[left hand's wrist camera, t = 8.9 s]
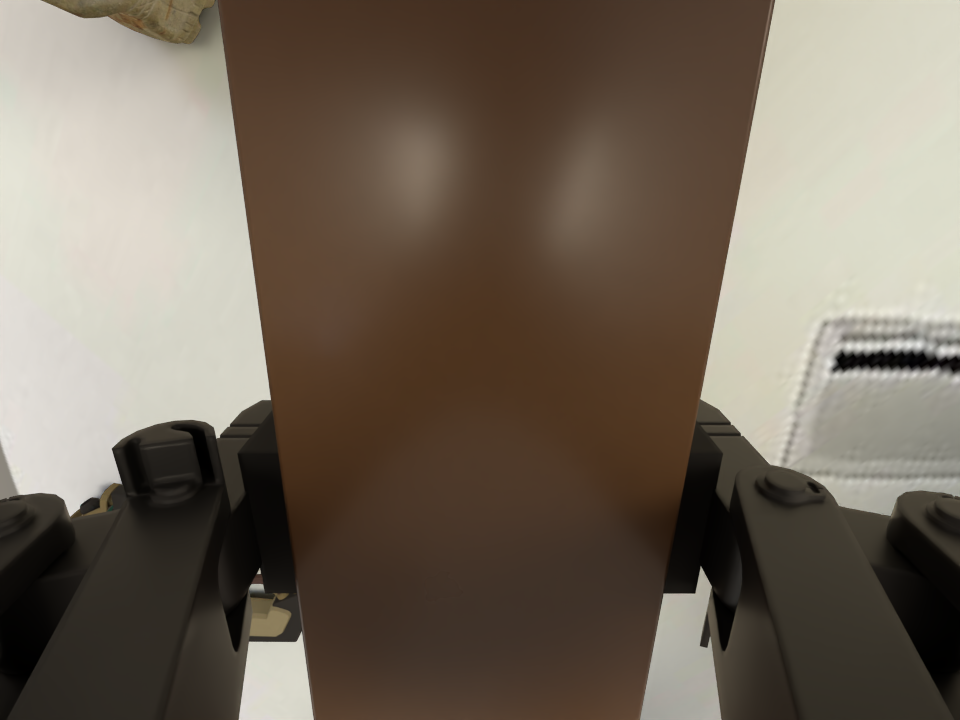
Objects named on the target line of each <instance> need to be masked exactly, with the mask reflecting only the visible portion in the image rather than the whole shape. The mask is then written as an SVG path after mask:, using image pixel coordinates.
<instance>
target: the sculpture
mask: <svg viewBox="0 0 960 720" xmlns="http://www.w3.org/2000/svg"><path fill="white" fill-rule="evenodd" d="M42 1H44V2H47V3H49V4H51V5H54V6H56V7H58V8H60V9H63V10H65V11H67V12H69V13H72V14H74V15H76V16H79V17H82V18H99V17H105V16H108V17H110V18H112V19H113V20H115V21H117V22H118V23H120V24H122V25H124V26H126V27H128V28H130V29H132V30H134V31H136V32H139V33H142V34H145V35H147V36H150V37H153V38H156V39H159V40H163V41H167V42H170V43H177V44H178V43H186V44H191V43H192V42H193V41H194V40H195V38H196V36H197V35H198V33H199V32H200V29H201V24H200V23H199V16H200V13H201V11H202V10H203V9H205V8H210V7H212V6H213V5H214V2H215V0H42Z"/></svg>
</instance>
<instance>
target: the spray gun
mask: <svg viewBox="0 0 960 720" xmlns="http://www.w3.org/2000/svg"><path fill="white" fill-rule="evenodd" d="M126 498H127V497H126V494H125V491H124V487H123V485H122V484H116V483H113V484H112V485H110V486H109V487H108V488H107V489H106V490H105V491H104V493H103V494H102V496H101V499H99V498H90V499H88V500H87V501H85V502H84V503H83V504H82V505H81V506H80V509H79V510H78V511H76V512H75V513H74V514H73V515H72V516H71V517H70V519H71V518H76V517H81V516H86V515H92V514H97V513H102V512H108V511H113V510H118V509H121V507H122V505H123V503H124V501H125V500H126ZM251 584H263V580H262V575H261V574H256V576H255V578H254V580H253V582H252V583H251ZM273 594H276V595H275V597H274V599H264V598H251V604H252V610H253V613H252V621H251V628H250V636H249V642H296V641H297V640H298V638H299V635H300V633H301V631H302V626H301V619H300V612H299V604H298V597H297V593H273Z"/></svg>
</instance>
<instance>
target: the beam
mask: <svg viewBox="0 0 960 720" xmlns="http://www.w3.org/2000/svg"><path fill="white" fill-rule="evenodd" d="M774 3H775V0H218V7H219V14H220V22H221V29H222V37H223V44H224V52H225V59H226V67H227V74H228V81H229V89H230V96H231V104H232V111H233V119H234V126H235V134H236V141H237V149H238V156H239V164H240V171H241V179H242V186H243V193H244V201H245V208H246V216H247V223H248V231H249V238H250V246H251V253H252V261H253V268H254V276H255V283H256V290H257V298H258V305H259V313H260V320H261V328H262V335H263V343H264V350H265V358H266V365H267V373H268V380H269V388H270V395H271V402H272V410H273V417H274V425H275V432H276V440H277V447H278V455H279V462H280V470H281V477H282V485H283V492H284V500H285V507H286V514H287V522H288V529H289V537H290V544H291V552H292V559H293V567H294V574H295V582H296V589H297V597H298V604H299V612H300V619H301V626H302V634H303V641H304V649H305V656H306V664H307V671H308V679H309V686H310V694H311V701H312V709H313V716H314V720H640V716H641V710H642V705H643V700H644V694H645V689H646V684H647V678H648V673H649V668H650V662H651V657H652V652H653V646H654V641H655V636H656V630H657V625H658V620H659V615H660V609H661V604H662V599H663V593H664V588H665V583H666V577H667V572H668V567H669V561H670V556H671V551H672V545H673V540H674V535H675V529H676V524H677V519H678V514H679V508H680V503H681V498H682V492H683V487H684V482H685V476H686V471H687V466H688V460H689V455H690V450H691V444H692V439H693V434H694V429H695V423H696V418H697V413H698V407H699V402H700V397H701V391H702V386H703V381H704V375H705V370H706V365H707V359H708V354H709V349H710V343H711V338H712V333H713V328H714V322H715V317H716V312H717V306H718V301H719V296H720V290H721V285H722V280H723V274H724V269H725V264H726V258H727V253H728V248H729V242H730V237H731V232H732V227H733V221H734V216H735V211H736V205H737V200H738V195H739V189H740V184H741V179H742V173H743V168H744V163H745V157H746V152H747V147H748V141H749V136H750V131H751V126H752V120H753V115H754V110H755V104H756V99H757V94H758V88H759V83H760V78H761V72H762V67H763V62H764V56H765V51H766V46H767V41H768V35H769V30H770V25H771V19H772V14H773V9H774Z"/></svg>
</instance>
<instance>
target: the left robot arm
mask: <svg viewBox="0 0 960 720" xmlns="http://www.w3.org/2000/svg"><path fill="white" fill-rule="evenodd" d="M112 451H113V454H114V458H115V461H116V464H117V468H118V471H119V474H120V477H121V481H122V484H123V487H124V491H125V494H126V497H127V498H126V500H125V501H124V503H123V505H122V507H121V509H118V510H113V511H108V512H102V513H97V514H92V515H86V516H81V517H76V518H71V519H70V516H69V513H68V510H67V507H66V505H65V502H64V500H63V499H61V498H60V497H58V496H57V495H55V494H45V493H37V494H29V495H18V496H13V497H10V498H9V499H6V498H5V499H2V500H0V720H239V712H240V705H241V697H242V689H243V682H244V674H245V666H246V659H247V651H248V644H249V636H250V628H251V621H252V613H253V610H252V604H251V598H250V594H249V587H250V585H251V583H252V582H253V580H254V578H255V576H256V574H257V572H258V570H259V568H260V570H261V575H262V580H263V585H264V590H265V593H297V589H296V582H295V574H294V567H293V559H292V552H291V544H290V537H289V529H288V522H287V514H286V507H285V500H284V492H283V485H282V477H281V470H280V462H279V455H278V447H277V440H276V432H275V425H274V417H273V410H272V402H271V400H262V401H260V402H258V403H256V404H254V405H253V406H251V407H249V408H247V409H245V410H244V411H242V412H241V413H240V414H239V415H238V416H237V417H236V419H235V420H234V421H233V422H232V423H231V424H230V427H227V428H226V429H225V431H224V432H223V433H222V434H221V435H220V438H217V439H216V436H215V431H214V427H212V426H211V425H209V424H208V423H206V422H201V421H195V420H181V421H171V422H166V423H161V424H156V425H153V426H150V427H147V428H145V429H142V430H139V431H136V432H135V433H133V434H131V435H129V436H127V437H125V438H123V439H122V440H121V441H120V442H118V443H117V444H116V445H115V446H114V447H113V448H112ZM700 567H702V569H703V571H704V572H705V574H706V576H707V578H708V580H709V582H710V584H711V586H712V589H711V594H710V598H709V603H708V608H707V612H706V617H705V622H704V626H703V631H702V636H701V642H700V646H702V647H706V648H707V647H708V642H709V638H710V636H711V642H712V650H713V657H714V665H715V673H716V680H717V688H718V695H719V703H720V711H721V718H722V720H960V497H958V496H955V497H953V496H952V495H950V494H946V493H940V492H939V493H936V492H928V491H913V492H905V493H904V494H902V495H901V496H899V497H898V498H897V501H896V503H895V506H894V509H893V512H892V515H891V516H887V515H881V514H876V513H871V512H865V511H860V510H855V509H849V508H845V507H840V506H838V504H837V502H836V500H835V499H834V497H833V496H832V495H831V493H830V492H829V491H828V490H827V489H826V488H825V487H824V486H823V485H821V484H820V483H818V482H817V481H815V480H814V479H812V478H811V477H809V476H806V475H804V474H801V473H799V472H796V471H794V470H791V469H786V468H782V467H778V466H773V465H770V464H769V463H768V462H767V461H766V460H765V459H764V458H763V457H762V456H761V455H760V454H759V453H758V452H757V450H756V449H755V448H754V447H753V446H752V445H751V444H750V443H749V442H748V441H747V440H746V439H745V437H744V436H741V433H740V432H739V431H738V430H737V429H736V428H735V427H734V426H733V425H731V422H730V421H729V420H728V419H727V418H726V417H725V416H724V415H723V414H722V413H721V412H720V410H718V409H717V408H715V407H713V406H711V405H709V404H708V403H706V402H704V401H702V400H700V402H699V407H698V413H697V418H696V423H695V429H694V434H693V439H692V444H691V450H690V455H689V460H688V466H687V471H686V476H685V482H684V487H683V492H682V498H681V503H680V508H679V514H678V519H677V524H676V529H675V535H674V540H673V545H672V551H671V556H670V561H669V567H668V572H667V577H666V583H665V588H664V593H695V592H696V587H697V582H698V577H699V572H700Z"/></svg>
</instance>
